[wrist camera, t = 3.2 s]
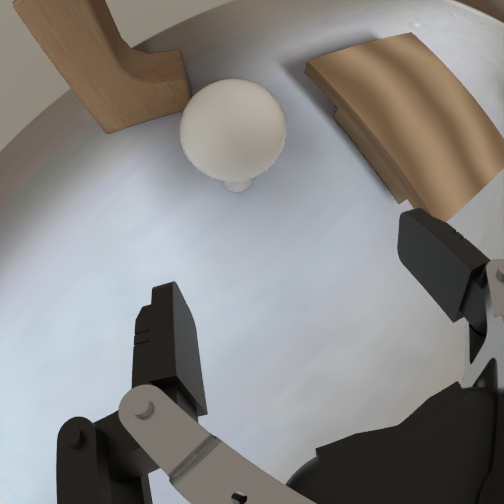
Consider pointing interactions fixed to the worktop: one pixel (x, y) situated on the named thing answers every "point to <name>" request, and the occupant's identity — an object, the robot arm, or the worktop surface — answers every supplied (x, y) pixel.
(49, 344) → the worktop surface
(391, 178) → the stand
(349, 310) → the worktop surface
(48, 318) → the worktop surface
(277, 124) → the lightbulb
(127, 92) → the wooden block
